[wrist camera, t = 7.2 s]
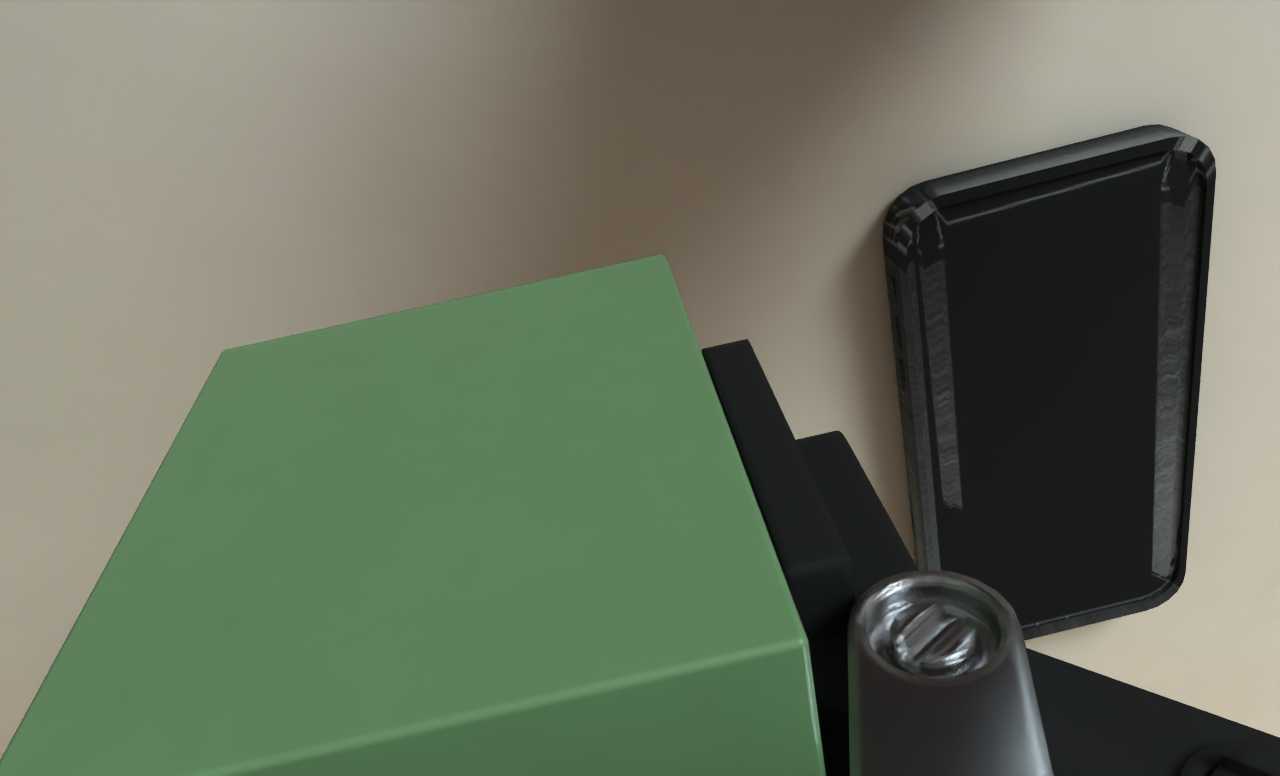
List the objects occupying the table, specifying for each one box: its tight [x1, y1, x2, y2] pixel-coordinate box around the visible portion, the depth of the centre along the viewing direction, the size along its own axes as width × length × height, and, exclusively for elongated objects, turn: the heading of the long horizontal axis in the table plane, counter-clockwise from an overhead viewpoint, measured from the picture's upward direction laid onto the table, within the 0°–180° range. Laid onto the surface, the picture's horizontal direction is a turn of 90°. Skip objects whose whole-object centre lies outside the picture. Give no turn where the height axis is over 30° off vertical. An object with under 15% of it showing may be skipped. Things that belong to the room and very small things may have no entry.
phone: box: [883, 124, 1216, 640], centre depth 27 cm, size 8×1×15 cm
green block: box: [0, 254, 826, 776], centre depth 9 cm, size 5×5×6 cm
